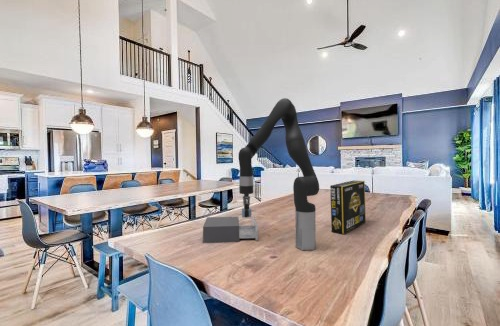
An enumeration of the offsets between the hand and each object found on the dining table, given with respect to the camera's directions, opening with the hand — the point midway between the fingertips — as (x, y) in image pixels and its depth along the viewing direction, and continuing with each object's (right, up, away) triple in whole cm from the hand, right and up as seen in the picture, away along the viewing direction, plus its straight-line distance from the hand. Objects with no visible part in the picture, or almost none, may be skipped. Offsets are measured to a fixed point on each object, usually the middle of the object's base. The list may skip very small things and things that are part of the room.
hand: (246, 215), depth 139 cm
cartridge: (0, 0, 0) cm, 0 cm away
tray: (-4, -10, 0) cm, 11 cm away
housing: (-13, -11, -1) cm, 17 cm away
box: (+61, -10, +14) cm, 63 cm away
